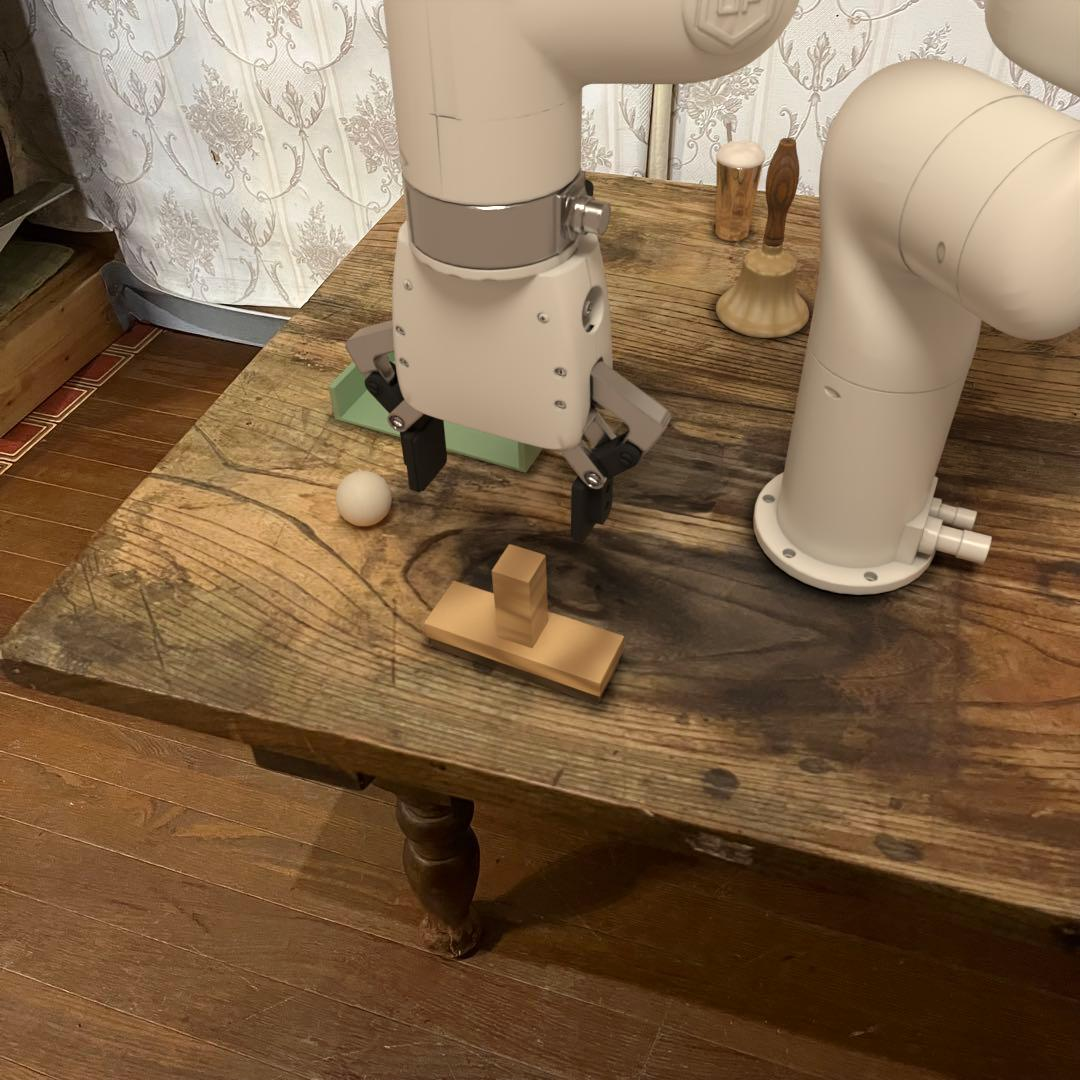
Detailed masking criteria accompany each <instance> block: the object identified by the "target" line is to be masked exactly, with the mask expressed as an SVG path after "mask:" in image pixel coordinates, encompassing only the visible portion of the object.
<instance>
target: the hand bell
mask: <svg viewBox="0 0 1080 1080" xmlns="http://www.w3.org/2000/svg"><path fill="white" fill-rule="evenodd" d="M797 149H798V148H797V140H796V139H794V138H791V137H783V138H781V139H780V140H779V142H778V145H777V148H776V150H775V152H774V154H773V156H772V158H771V160H770V162H769V165H768V168H767V172H766V178H765V200H766V205H767V218H766V224H765V228H764V229H765V230H764V235H763V238H762V241H763V242H762V246H761V247H757V248H753V249H752V250H750V251H749V252H748V253H747V254H746V255H745V256H744V258H743V263H742V267H741V270H740V273H739V274H738V278H737V280H736V282H735V283H734V285H733V286H732V287H731V288H729V289H728V290H726V291H725V292H723V293H722V295H721V296H720V297H719V298H718V300H717V302H716V305H715V313H716V316H717V318H718V320H719V321H720V323H722V324H723V325H724V326H725V327H726V328H728V329H730V330H731V331H733V332H735V333H738V334H741V335H744V336H746V337H747V336H748V337H751V338H758V339H775V338H783V337H787V336H790V335H794V334H796V333H797V332H799V331H801V330H802V329H803V328H804V327H805V326H806V325H807V324H808V321H809V318H810V311H809V308H808V305H807V303H806V301H805V300H804V298H803V297H802V296H801V295H800V294H799V291H798V289H797V281H796V280H797V279H796V272H797V271H796V269H797V262H796V259H795V257H794V256H793V255H792V254H791V253H790V252H788V251H787V250H785V249H783V246H784V241H785V230H786V221H787V216H788V212H789V210H790V208H791V206H792V203H793V201H794V199H795V196H796V193H797V189H798V185H799V179H800V161H799V156H798V150H797Z"/></svg>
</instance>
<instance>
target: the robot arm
mask: <svg viewBox="0 0 1080 1080" xmlns="http://www.w3.org/2000/svg"><path fill="white" fill-rule="evenodd" d="M799 3H800V0H382V6H383V13H384V22H385V23H384V24H385V32H386V42H387V51H388V59H389V69H390V70H389V71H390V78H391V79H390V80H391V89H392V98H393V104H394V105H393V106H394V116H395V124H396V125H395V126H396V134H397V135H396V136H397V143H398V150H399V151H398V152H399V161H400V162H399V163H400V171H401V181H402V189H403V190H402V191H403V198H404V199H403V200H404V208H405V217H406V218H405V219H406V220H404V222H403V223H402V224H401V226H400V227H399V230H398V232H397V239H396V246H395V256H394V262H393V273H392V293H391V294H392V295H391V312H392V313H391V314H392V315H391V316H392V318H391V320H386V321H383V322H379V323H375V324H372V325H369V326H365V327H362V328H359V329H358V330H357V331H356V332H354V334H352V336H351V337H349V338H348V339H347V340H346V341H345V344H344V346H345V347H344V348H345V349H346V353H348V355H349V357H350V358H351V360H352V362H354V363H355V365H356V366H357V368H358V370H359V371H360V373H361V374H364V376H365V378H366V379H365V387H366V389H367V390H368V391H369V392H370V393H371V394H372V395H373V397H374V398H375V399H376V400H377V401H378V402H379V403H380V404H381V405H382V406H383V407H384V408H385V409H386V411H387V412H388V413H389V415H388V416H387V420H388V423H389V425H390V426H391V427H392V428H393V429H394V430H396V431H398V432H400V437H401V438H400V437H399V438H400V444H401V451H402V459H403V464H404V465H405V466H406V473H407V480H408V488H409V490H410V491H413V492H416V493H420V494H421V492H424V491H426V489H427V488H428V487H429V485H431V483H432V482H433V480H434V479H435V478H436V477H437V475H438V474H439V473H440V472H441V470H443V468H444V467H445V466H446V464H447V462H448V453H447V452H448V451H447V450H446V440H445V430H444V420H445V421H448V422H451V423H454V424H458V425H461V426H465V427H468V428H471V429H475V430H478V431H482V432H485V433H489V434H492V435H496V436H500V437H503V438H507V439H510V440H514V441H518V442H521V443H525V444H529V445H533V446H537V447H541V448H543V449H546V450H553V451H558V452H559V453H560V454H561V455H562V456H563V458H564V459H565V460H566V462H567V463H568V464H569V465H570V467H571V468H572V469H573V470H574V472H575V473H576V474H577V476H576V478H575V479H574V481H573V482H572V485H571V488H570V531H569V532H570V538H571V539H572V541H573V542H576V543H579V544H584V543H585V542H586V541H587V539H588V537H589V535H590V534H591V532H592V531H593V529H594V527H595V526H596V524H597V525H600V526H603V525H605V523H606V522H607V519H609V516H610V514H611V510H612V508H613V507H612V506H613V498H614V497H613V496H614V478H615V477H617V476H619V475H621V474H623V473H624V472H627V471H628V470H630V469H632V468H634V467H636V466H637V465H638V464H639V462H640V461H641V459H642V458H643V457H644V456H645V455H646V454H647V453H648V452H649V451H650V450H651V448H652V447H653V446H654V445H655V444H656V443H657V442H658V440H659V439H660V438H661V437H662V436H663V433H664V432H665V430H666V428H667V427H668V425H669V423H670V422H671V420H672V413H671V411H669V409H668V408H666V407H665V406H664V405H662V404H661V403H660V402H658V400H656V399H654V398H653V397H651V396H650V395H648V393H646V392H645V391H643V390H642V389H640V388H639V387H638V386H637V385H635V384H634V383H632V382H631V381H629V380H628V379H627V378H625V377H624V376H622V374H620V373H619V372H617V371H616V370H615V369H613V366H614V364H613V361H614V360H613V337H612V320H611V309H610V298H609V289H608V284H607V283H608V282H607V277H606V270H605V265H604V259H603V255H602V250H601V246H600V241H599V239H598V236H604V235H605V234H606V232H607V230H608V227H609V224H610V220H611V213H612V209H611V205H610V203H609V202H604V201H600V200H596V199H595V197H594V196H593V197H592V196H588V195H587V192H586V188H585V179H586V171H585V170H583V169H582V136H583V135H582V133H583V132H582V131H583V130H582V128H583V88H584V87H586V86H589V85H686V84H696V83H697V84H698V83H703V82H707V81H712V80H715V79H719V78H723V77H725V76H728V75H730V74H732V73H734V72H737V71H739V70H741V69H744V68H745V67H746V66H748V65H750V64H752V63H753V62H754V61H756V60H757V59H758V58H760V57H761V56H762V55H763V54H764V53H765V52H767V51H768V49H770V48H771V47H772V46H773V45H774V44H775V43H776V41H777V40H778V39H779V38H780V36H781V35H782V34H783V33H784V32H785V29H786V28H787V27H788V26H789V24H790V22H791V21H792V19H793V17H794V15H795V13H796V10H797V8H798V6H799ZM984 22H985V27H986V30H987V32H988V35H989V37H990V39H991V42H992V43H993V44H994V46H995V47H996V49H998V50H999V51H1000V53H1002V55H1003V56H1005V57H1006V59H1008V60H1009V61H1010V62H1012V63H1013V64H1015V65H1016V66H1017V67H1019V68H1020V69H1022V70H1024V71H1026V72H1027V73H1030V74H1032V75H1033V76H1035V77H1037V78H1039V79H1041V80H1042V81H1045V82H1047V83H1049V84H1051V85H1053V86H1055V87H1057V88H1059V89H1061V90H1063V91H1065V92H1067V93H1070V95H1071V94H1072V95H1073V96H1076V97H1077V98H1080V0H985V5H984ZM818 207H819V208H818V209H819V211H818V212H819V213H818V215H819V233H820V234H819V237H820V238H819V265H818V266H819V267H818V269H819V270H818V275H817V283H816V284H817V285H816V292H815V298H814V305H813V311H812V315H811V322H810V328H809V334H808V338H807V344H806V348H805V355H804V360H803V365H802V370H801V375H800V376H801V377H800V381H799V386H798V391H797V392H798V393H797V398H796V404H795V408H794V414H793V419H792V426H791V430H790V435H789V436H790V437H789V442H788V446H787V453H786V458H785V464H784V469H783V472H781V473H779V474H777V475H775V476H774V477H773V478H771V480H769V482H767V483H766V484H765V485H764V486H763V488H762V489H761V491H760V492H759V493H758V496H757V499H756V500H755V503H754V508H753V516H752V524H753V525H752V526H753V533H754V535H755V537H756V541H757V543H758V545H759V547H760V548H761V549H762V552H763V553H764V554H765V555H766V556H767V557H768V559H770V561H771V562H772V563H773V564H774V565H775V566H777V568H779V569H780V570H782V571H783V572H785V573H786V574H787V575H789V576H790V577H792V578H794V579H796V580H798V581H800V582H801V583H804V584H806V585H809V586H812V587H814V588H817V589H820V590H824V591H828V592H831V593H837V594H844V595H845V594H846V595H854V596H861V595H878V594H881V593H887V592H892V591H895V590H897V589H900V588H902V587H905V586H908V585H909V584H911V583H912V582H913V581H915V580H917V579H919V578H920V577H921V575H923V573H924V572H926V570H927V569H928V568H929V567H930V565H931V563H932V561H933V559H934V557H935V555H936V551H938V552H941V553H945V554H949V555H952V556H955V558H957V559H961V560H965V561H967V562H968V561H969V562H972V563H976V564H979V565H984V564H985V561H986V559H987V557H988V554H989V550H990V547H991V543H992V539H993V537H992V536H991V535H987V534H983V533H980V532H975V531H972V530H973V527H974V525H975V522H976V519H977V515H978V511H977V510H973V509H969V508H964V507H961V506H953V505H949V504H944V503H942V502H943V499H942V498H938V497H934V495H935V492H936V488H937V485H938V481H939V478H938V477H937V476H936V473H937V470H938V467H939V464H940V460H941V458H942V455H943V452H944V448H945V445H946V442H947V439H948V436H949V433H950V430H951V426H952V424H953V421H954V417H955V414H956V411H957V409H958V405H959V402H960V398H961V395H962V392H963V389H964V386H965V383H966V380H967V376H968V373H969V370H970V369H971V365H972V362H973V360H974V359H973V358H974V355H975V354H976V349H977V347H978V342H979V337H980V334H981V328H982V322H984V323H985V324H986V325H989V326H991V328H994V329H995V330H997V331H999V332H1001V333H1003V334H1006V335H1008V336H1010V337H1013V338H1016V339H1021V340H1026V341H1045V340H1050V339H1054V338H1059V337H1061V336H1064V335H1066V334H1068V333H1071V332H1073V331H1075V330H1076V329H1078V328H1080V120H1079V119H1077V118H1074V117H1072V116H1071V115H1068V114H1067V113H1064V112H1063V111H1060V110H1058V109H1056V108H1054V107H1052V106H1050V105H1048V104H1046V103H1044V101H1042V100H1040V99H1039V98H1037V97H1035V96H1033V95H1030V94H1028V93H1026V92H1025V91H1022V90H1020V89H1018V88H1016V87H1014V86H1011V85H1009V84H1007V83H1005V82H1003V81H1001V80H999V79H997V78H995V77H993V76H991V75H989V74H986V73H984V72H983V71H980V70H978V69H975V68H973V67H969V66H967V65H964V64H961V63H958V62H955V61H949V60H944V59H940V58H925V57H924V58H921V57H918V58H911V59H906V60H902V61H899V62H895V63H892V64H889V65H887V66H885V67H883V68H880V69H879V70H877V71H876V72H874V73H873V74H871V75H869V76H868V77H867V78H866V79H864V80H863V81H862V82H861V83H859V85H858V86H856V87H855V88H854V90H853V91H852V92H851V93H849V95H848V97H846V99H845V100H844V101H843V103H842V105H841V107H840V108H839V109H838V112H837V113H836V115H835V116H834V118H833V121H832V123H831V125H830V128H829V130H828V133H827V136H826V139H825V141H824V146H823V149H822V155H821V159H820V166H819V180H818ZM391 352H394V355H395V364H394V363H393V362H391V361H388V359H389V357H388V355H387V353H391ZM598 409H600V410H603V411H605V410H606V411H607V412H609V413H611V415H613V416H614V417H616V418H617V419H619V421H621V422H623V423H624V424H625V425H626V426H627V428H628V430H626V431H625V432H623V433H621V434H619V435H616V433H615V431H613V429H612V428H611V427H610V426H609V424H608V423H607V422H606V420H605V419H604V417H603V416H602V414H601V413H600V412H599V410H598ZM584 436H585V438H586V439H587V440H588V442H589V443H590V444H591V446H592V447H593V448H592V450H591V448H590V447H589V446H588V444H587V443H586V442H585V441H584V440H583V437H584ZM943 524H946V525H943ZM947 525H950V526H951V527H950V526H947Z"/></svg>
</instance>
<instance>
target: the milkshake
mask: <svg viewBox="0 0 1080 1080" xmlns="http://www.w3.org/2000/svg"><path fill="white" fill-rule="evenodd" d="M725 126H726V128H725V129H726V138H727V143H724V144H723V145H721V146H720V147H719V148H718V150H717V151H716V154H715V158H716V159H715V160H716V161H715V162H716V163H715V164H716V165H715V167H716V170H715V171H716V173H715V175H716V178H715V180H716V190H715V191H716V193H715V235H716V236H717V237H718V239H720V240H724V241H726V242H727V241H728V242H740V241H742V240H744V239H747V238H748V235H749V231H750V228H751V222H752V218H753V213H754V207H755V202H756V197H757V193H758V189H759V186H760V185H759V184H760V181H761V178H762V172H763V169H764V164H765V160H766V152H765V151H764V149H763V148H762V147H761V145H760V144H759V143H758V142H757V141H748V140H739V141H733V136H732V123H731V121H728V122H726V123H725Z"/></svg>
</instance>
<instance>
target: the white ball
mask: <svg viewBox="0 0 1080 1080" xmlns="http://www.w3.org/2000/svg"><path fill="white" fill-rule="evenodd" d="M334 495H335V496H334V497H335V499H334V500H335V506H336V509H337V511H338V513H339V515H340V516H341V517H342V518H343V519H344V520H345V521H347V522H348V523H350V524H351V525H354V526H358V527H371V526H373V525H376V524H378V523H380V522H381V521H382V520H383V519H384V518H385V517H386V516H387V515H388V513H389V511H390V509H391V506H392V499H393V496H392V490H391V487H390V486H389V483H387V481H386V480H385V479H384V478H383V477H382V476H381V475H380V474H378V473H376V472H373V471H370V470H356V471H354V472H351V473H348V474H347V475H346V476H344V478H342V480H341V481H340V482H339V484H338V485H337V488H336V491H335V494H334Z"/></svg>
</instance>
